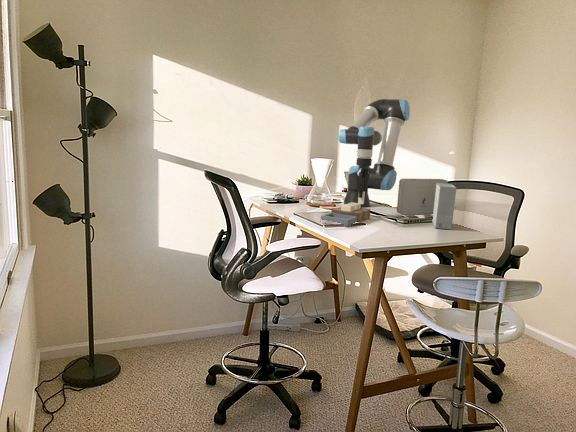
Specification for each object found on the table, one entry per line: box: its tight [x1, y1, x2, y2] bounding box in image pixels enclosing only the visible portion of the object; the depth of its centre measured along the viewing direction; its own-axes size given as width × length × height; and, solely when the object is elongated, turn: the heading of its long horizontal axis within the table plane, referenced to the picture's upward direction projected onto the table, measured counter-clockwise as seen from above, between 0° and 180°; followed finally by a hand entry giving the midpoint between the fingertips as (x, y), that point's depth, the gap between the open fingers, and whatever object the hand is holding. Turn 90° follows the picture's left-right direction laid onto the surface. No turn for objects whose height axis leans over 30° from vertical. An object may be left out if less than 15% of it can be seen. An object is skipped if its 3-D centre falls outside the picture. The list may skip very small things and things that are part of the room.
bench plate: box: [330, 206, 371, 223], centre depth 231 cm, size 15×14×5 cm
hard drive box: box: [431, 183, 457, 230], centre depth 223 cm, size 16×8×20 cm, turn 168°
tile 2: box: [348, 202, 362, 210], centre depth 233 cm, size 5×5×2 cm
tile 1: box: [340, 203, 355, 212], centre depth 227 cm, size 5×5×2 cm
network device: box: [396, 178, 449, 217], centre depth 242 cm, size 26×9×20 cm, turn 104°
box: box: [320, 212, 357, 228], centre depth 220 cm, size 10×14×4 cm
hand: (360, 203), depth 239 cm, fingers closed
